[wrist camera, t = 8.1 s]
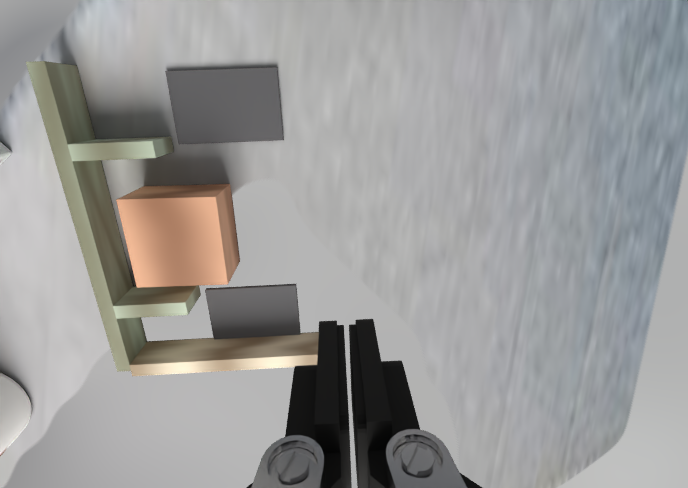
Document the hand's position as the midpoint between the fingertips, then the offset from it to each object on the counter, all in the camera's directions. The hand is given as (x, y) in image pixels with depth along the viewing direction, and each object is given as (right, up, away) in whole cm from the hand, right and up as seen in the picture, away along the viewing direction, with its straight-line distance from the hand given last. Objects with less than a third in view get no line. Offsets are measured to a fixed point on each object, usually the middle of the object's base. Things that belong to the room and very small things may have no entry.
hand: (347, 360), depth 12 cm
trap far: (-7, -2, +19) cm, 20 cm away
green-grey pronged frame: (-10, +5, +16) cm, 20 cm away
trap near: (-8, +13, +13) cm, 20 cm away
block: (-11, +5, +16) cm, 20 cm away
